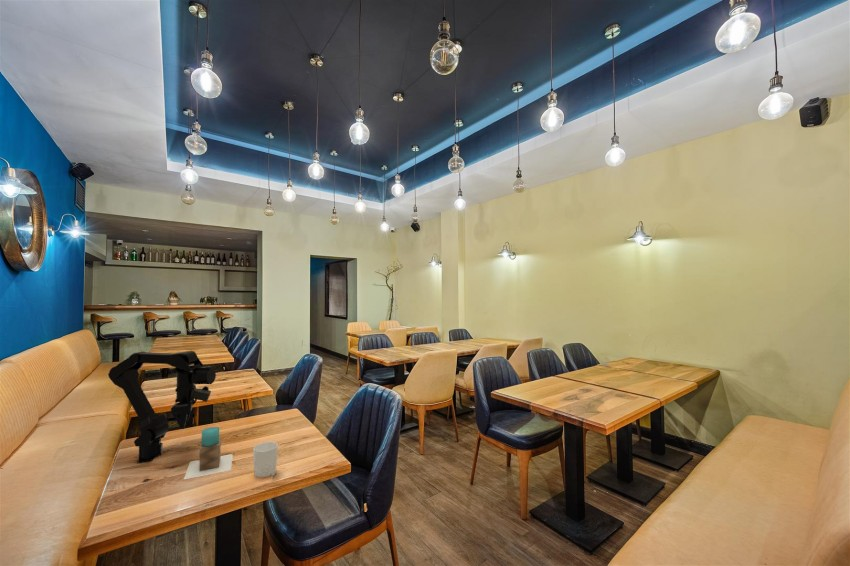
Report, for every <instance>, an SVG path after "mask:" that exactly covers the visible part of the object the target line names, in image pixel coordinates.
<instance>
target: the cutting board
mask: <svg viewBox="0 0 850 566" xmlns="http://www.w3.org/2000/svg"><path fill="white" fill-rule="evenodd" d="M233 457H234V453H231V454H224V455H220V465H219V468H214V469H209V470H204V471H199V464H200V459H198V460H197V459H196V460H191V461H190V462H189V464H188V467H187V470H186V472H185V475H184V478H183V481H184V480H189V479H194V478H199V477H203V476H208V475H213V474H219V473H224V472H229V471H230V472H231V470H232V465H233Z"/></svg>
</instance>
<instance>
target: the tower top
mask: <svg viewBox="0 0 850 566" xmlns="http://www.w3.org/2000/svg"><path fill="white" fill-rule="evenodd" d="M221 445H222V443H221V438H219V443H218V444H216V445H214V446H210V447H202V442H201V444H200V447H199V460H202V459H207V458H213V457H218V456H219V455H220V456H221V452H220V450H221Z"/></svg>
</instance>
